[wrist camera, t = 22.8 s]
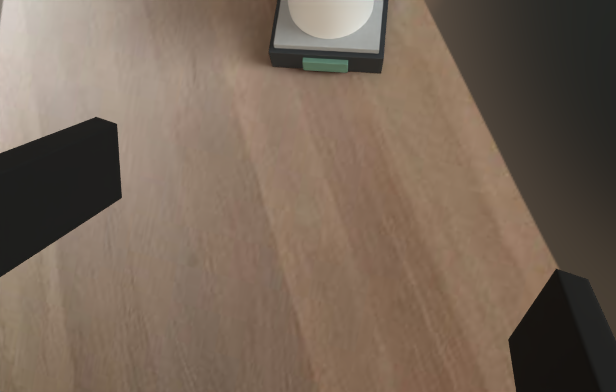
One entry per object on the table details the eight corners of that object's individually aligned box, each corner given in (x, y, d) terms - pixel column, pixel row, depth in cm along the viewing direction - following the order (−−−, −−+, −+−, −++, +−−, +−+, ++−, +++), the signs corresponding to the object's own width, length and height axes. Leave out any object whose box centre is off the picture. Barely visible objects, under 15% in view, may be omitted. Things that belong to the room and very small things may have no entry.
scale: (388, -18, 43) (391, -41, 40) (380, 77, 40) (383, 59, 37) (286, -21, 44) (283, -45, 41) (271, 71, 41) (266, 53, 38)
